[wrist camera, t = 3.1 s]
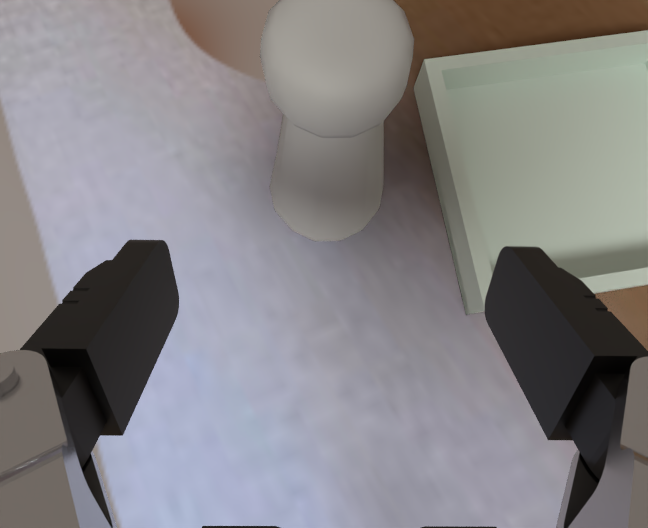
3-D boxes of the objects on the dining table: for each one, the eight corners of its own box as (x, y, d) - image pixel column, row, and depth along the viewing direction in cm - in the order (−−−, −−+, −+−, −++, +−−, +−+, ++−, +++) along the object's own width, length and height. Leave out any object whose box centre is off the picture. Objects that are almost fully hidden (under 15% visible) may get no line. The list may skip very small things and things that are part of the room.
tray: (645, 57, 25) (680, 26, 23) (724, 272, 23) (774, 263, 20) (413, 88, 25) (424, 59, 22) (466, 314, 22) (484, 310, 19)
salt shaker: (274, 252, 22) (217, 125, 10) (275, 156, 23) (226, -69, 11) (378, 250, 22) (461, 124, 10) (374, 156, 24) (442, -68, 11)
